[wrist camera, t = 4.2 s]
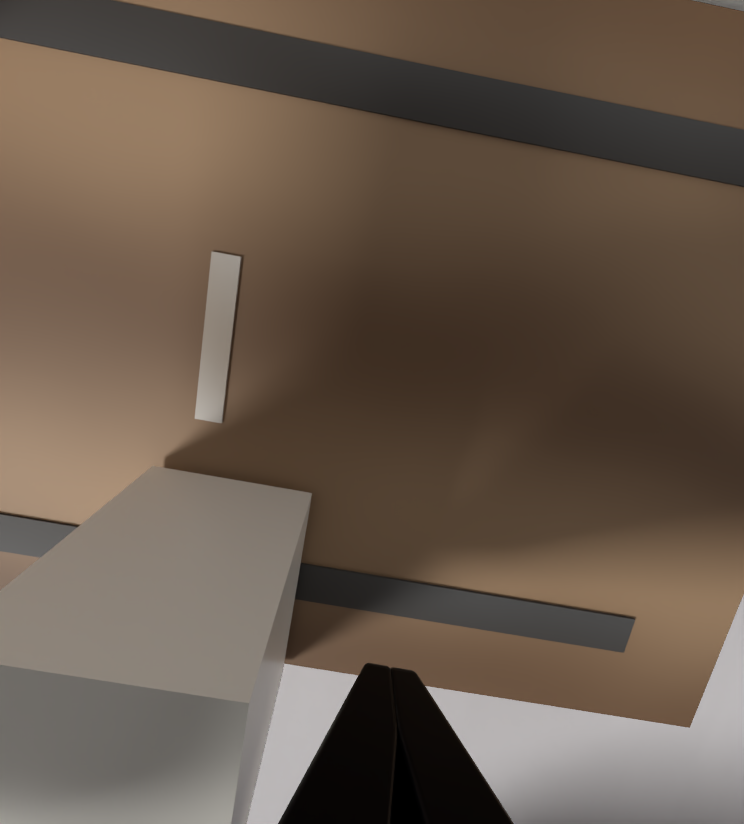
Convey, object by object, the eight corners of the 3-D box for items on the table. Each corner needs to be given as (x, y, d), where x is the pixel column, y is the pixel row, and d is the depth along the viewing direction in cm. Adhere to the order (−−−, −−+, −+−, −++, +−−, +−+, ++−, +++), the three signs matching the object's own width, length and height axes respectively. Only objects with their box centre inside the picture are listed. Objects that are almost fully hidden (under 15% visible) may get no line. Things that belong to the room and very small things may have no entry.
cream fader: (283, 670, 11) (205, 994, 6) (137, 647, 11) (-67, 960, 6) (311, 492, 10) (248, 703, 5) (153, 466, 10) (-76, 652, 5)
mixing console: (624, 635, 14) (691, 730, 11) (-200, 500, 13) (-366, 562, 10) (804, 117, 11) (964, 55, 8) (-257, -102, 10) (-519, -263, 7)
